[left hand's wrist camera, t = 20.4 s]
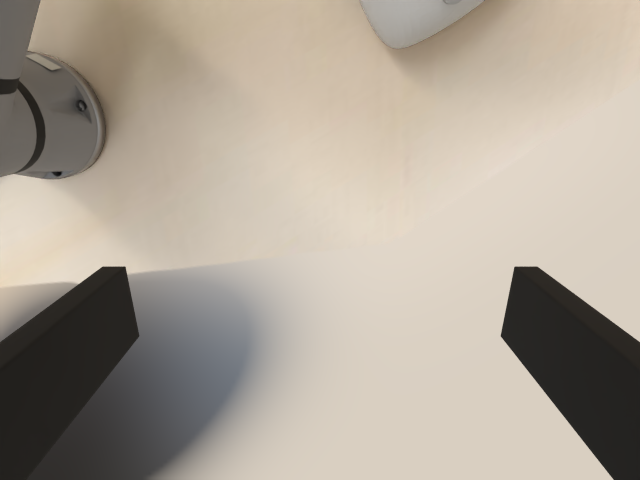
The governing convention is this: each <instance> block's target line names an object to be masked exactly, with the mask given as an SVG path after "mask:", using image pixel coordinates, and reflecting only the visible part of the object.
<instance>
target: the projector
mask: <svg viewBox="0 0 640 480" xmlns="http://www.w3.org/2000/svg"><path fill="white" fill-rule="evenodd" d="M359 1H360V3H361V6H362V8H363V10H364V12H365V14H366V17H367V19H368V21H369V22H370V24H371V26H372V28H373V30H374V31H375V33H376V34H377V36H378V37H379V38H380V39H381V41H382V42H384V43H385V44H386V45H387V46H389V47H391V48H395V49H402V48H406V47H409V46H411V45H414V44H416V43H418V42H421V41H423V40H425V39H427V38H429V37H430V36H432V35H434V34H436V33H438V32H439V31H441V30H443V29H444V28H446V27H448V26H449V25H451V24H452V23H454V22H455V21H457V20H459V19H460V18H461V17H463V16H464V15H466V14H467V13H469V12H470V11H471V10H473V9H474V8H476V7H477V6H478V5H480V4H481V3H482V2H483V1H485V0H359Z"/></svg>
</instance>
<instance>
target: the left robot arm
mask: <svg viewBox="0 0 640 480" xmlns="http://www.w3.org/2000/svg"><path fill="white" fill-rule="evenodd" d="M39 4H40V0H0V177H2V176H6V175H10V174H18V175H24V176H30V177H35V178H42V179H60V178H65V177H69V176H72V175H75V174H78V173H81V172H83V171H84V170H86V169H87V168H89V167H90V166H91V165H92V164H93V163H94V162H95V161H96V159H97V158H98V156H99V155H100V153H101V151H102V148H103V145H104V141H105V119H104V114H103V111H102V108H101V105H100V103H99V101H98V98H97V96H96V95H95V93H94V91H93V90H92V88H91V87H90V85H89V84H88V83H87V82H86V80H85V79H84V78H83V77H82V76H81V75H80V74H79V73H78V72H76V71H75V70H74V69H73V68H71V67H70V66H69V65H67V64H66V63H64V62H62V61H60V60H58V59H56V58H54V57H51V56H48V55H45V54H40V53H35V52H30V51H27V50H28V46H29V42H30V38H31V34H32V31H33V27H34V23H35V19H36V15H37V12H38V8H39ZM138 337H139V332H138V327H137V322H136V317H135V312H134V307H133V302H132V297H131V292H130V287H129V282H128V277H127V272H126V267H102V268H100V269H99V270H98V271H96V272H95V273H93V274H92V275H91V276H89V277H88V278H87V279H85V280H84V281H83V282H81V283H80V284H79V285H77V286H76V287H74V288H73V289H72V290H70V291H69V292H68V293H66V294H65V295H64V296H62V297H61V298H60V299H58V300H57V301H56V302H54V303H53V304H52V305H50V306H49V307H47V308H46V309H45V310H43V311H42V312H41V313H39V314H38V315H36V316H35V317H34V318H32V319H31V320H30V321H28V322H27V323H26V324H24V325H23V326H22V327H20V328H19V329H17V330H16V331H15V332H13V333H12V334H11V335H9V336H8V337H7V338H5V339H4V340H3V341H1V342H0V480H26V479H27V478H28V477H29V476H30V474H31V473H32V472H33V470H34V469H35V468H36V467H37V465H38V464H39V463H40V462H41V460H42V459H43V458H44V457H45V455H46V454H47V453H48V451H49V450H50V449H51V448H52V446H53V445H54V444H55V442H56V441H57V440H58V439H59V437H60V436H61V435H62V434H63V432H64V431H65V430H66V429H67V427H68V426H69V425H70V423H71V422H72V421H73V420H74V418H75V417H76V416H77V415H78V413H79V412H80V411H81V410H82V408H83V407H84V406H85V404H86V403H87V402H88V401H89V399H90V398H91V397H92V396H93V394H94V393H95V392H96V390H97V389H98V388H99V387H100V385H101V384H102V383H103V382H104V380H105V379H106V378H107V376H108V375H109V374H110V373H111V371H112V370H113V369H114V367H115V366H116V365H117V364H118V362H119V361H120V360H121V359H122V357H123V356H124V355H125V354H126V352H127V351H128V350H129V348H130V347H131V346H132V345H133V343H134V342H135V341H136V339H137V338H138ZM501 337H502V338H503V340H504V341H505V342H506V343H507V345H508V346H509V347H510V348H511V350H512V351H513V352H514V354H515V355H516V356H517V357H518V359H519V360H520V361H521V362H522V364H523V365H524V366H525V368H526V369H527V370H528V371H529V373H530V374H531V375H532V376H533V378H534V379H535V380H536V382H537V383H538V384H539V385H540V387H541V388H542V389H543V390H544V392H545V393H546V394H547V396H548V397H549V398H550V399H551V401H552V402H553V403H554V404H555V406H556V407H557V408H558V410H559V411H560V412H561V413H562V415H563V416H564V417H565V418H566V420H567V421H568V422H569V423H570V425H571V426H572V427H573V429H574V430H575V431H576V432H577V434H578V435H579V436H580V437H581V439H582V440H583V441H584V443H585V444H586V445H587V446H588V448H589V449H590V450H591V451H592V453H593V454H594V455H595V457H596V458H597V459H598V460H599V462H600V463H601V464H602V465H603V467H604V468H605V469H606V470H607V472H608V473H609V474H610V475H611V477H612V478H613V479H614V480H640V342H639V341H637V340H636V339H635V338H633V337H632V336H631V335H629V334H628V333H627V332H625V331H624V330H623V329H621V328H620V327H618V326H617V325H616V324H614V323H613V322H612V321H610V320H609V319H608V318H606V317H605V316H604V315H602V314H601V313H599V312H598V311H597V310H595V309H594V308H593V307H591V306H590V305H589V304H587V303H586V302H584V301H583V300H582V299H580V298H579V297H578V296H576V295H575V294H574V293H572V292H571V291H570V290H568V289H567V288H566V287H564V286H563V285H561V284H560V283H559V282H557V281H556V280H555V279H553V278H552V277H551V276H549V275H548V274H547V273H545V272H544V271H542V270H541V269H540V268H538V267H514V272H513V277H512V282H511V287H510V292H509V297H508V302H507V307H506V312H505V317H504V322H503V327H502V333H501Z"/></svg>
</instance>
